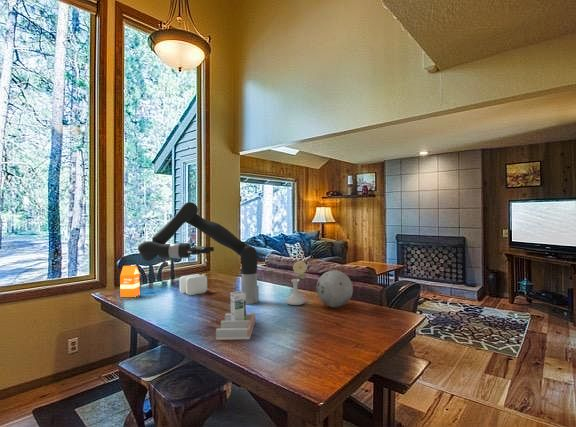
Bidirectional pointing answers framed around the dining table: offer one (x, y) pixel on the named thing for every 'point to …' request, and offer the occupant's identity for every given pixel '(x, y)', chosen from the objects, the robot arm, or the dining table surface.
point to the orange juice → (129, 282)
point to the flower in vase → (296, 297)
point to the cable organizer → (193, 284)
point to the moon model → (334, 288)
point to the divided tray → (235, 328)
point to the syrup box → (238, 305)
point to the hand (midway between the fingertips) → (211, 250)
